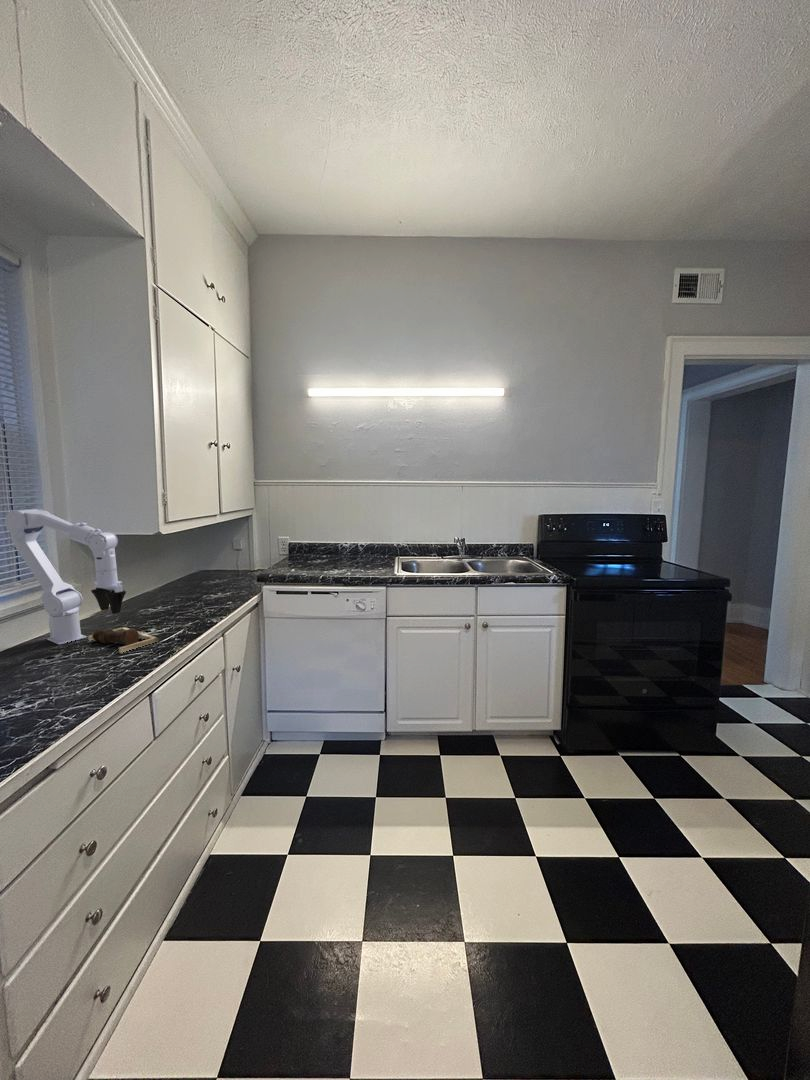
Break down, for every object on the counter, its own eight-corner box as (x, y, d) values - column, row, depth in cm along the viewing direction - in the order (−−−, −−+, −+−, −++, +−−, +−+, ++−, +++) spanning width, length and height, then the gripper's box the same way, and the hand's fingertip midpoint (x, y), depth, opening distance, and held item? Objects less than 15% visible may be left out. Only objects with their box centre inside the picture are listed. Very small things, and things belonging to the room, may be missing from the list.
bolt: (100, 645, 154) (135, 648, 149) (86, 643, 149) (122, 645, 145) (106, 628, 156) (141, 630, 151) (92, 624, 151) (128, 626, 147)
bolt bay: (88, 640, 153) (87, 636, 153) (124, 631, 162) (124, 626, 162) (121, 653, 141) (120, 648, 141) (158, 642, 150) (157, 637, 150)
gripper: (130, 570, 150) (134, 611, 152) (108, 565, 158) (112, 605, 160) (106, 573, 144) (111, 617, 146) (85, 569, 152) (89, 610, 154)
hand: (110, 611), depth 153 cm, fingers open, 7 cm apart
